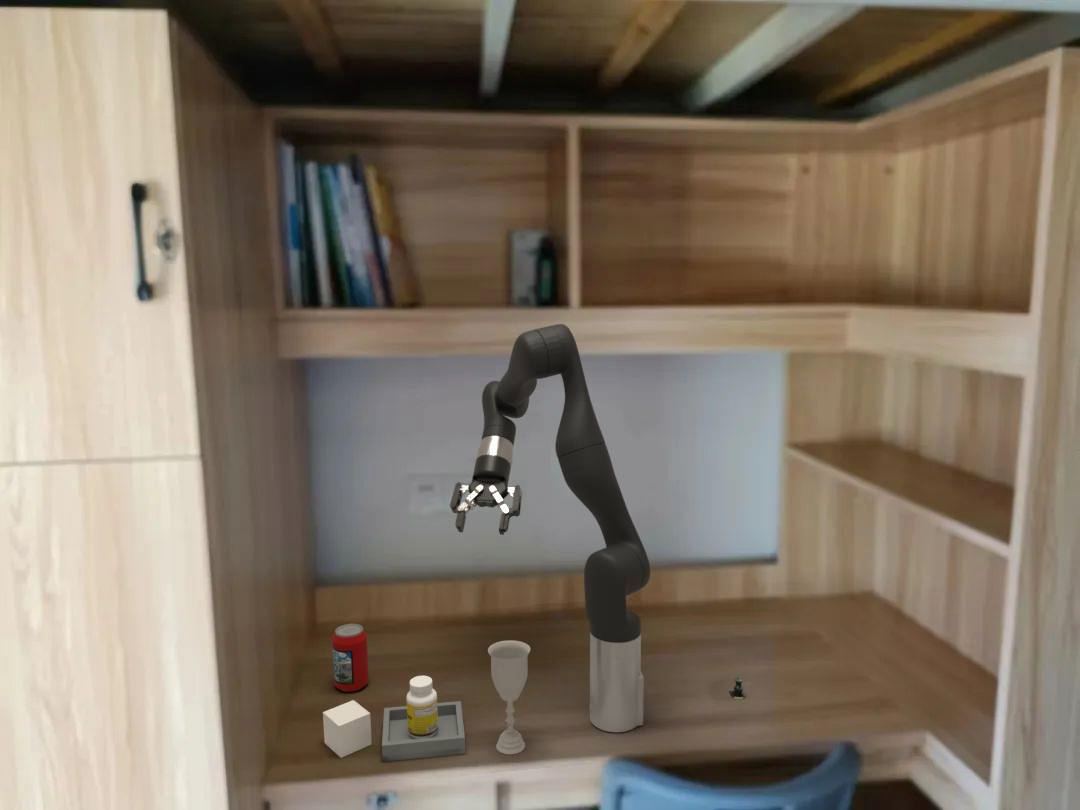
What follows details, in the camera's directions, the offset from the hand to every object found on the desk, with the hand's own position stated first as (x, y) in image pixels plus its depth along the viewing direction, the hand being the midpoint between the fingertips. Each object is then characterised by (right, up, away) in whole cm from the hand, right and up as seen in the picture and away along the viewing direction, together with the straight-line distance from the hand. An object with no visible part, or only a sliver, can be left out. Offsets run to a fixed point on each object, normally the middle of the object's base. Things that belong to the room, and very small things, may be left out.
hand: (480, 531), depth 159 cm
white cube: (-22, -35, -19) cm, 45 cm away
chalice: (+7, -34, -20) cm, 40 cm away
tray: (-9, -34, -17) cm, 39 cm away
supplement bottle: (-9, -33, -17) cm, 38 cm away
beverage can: (-26, -31, +1) cm, 41 cm away
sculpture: (+51, -32, -3) cm, 60 cm away
